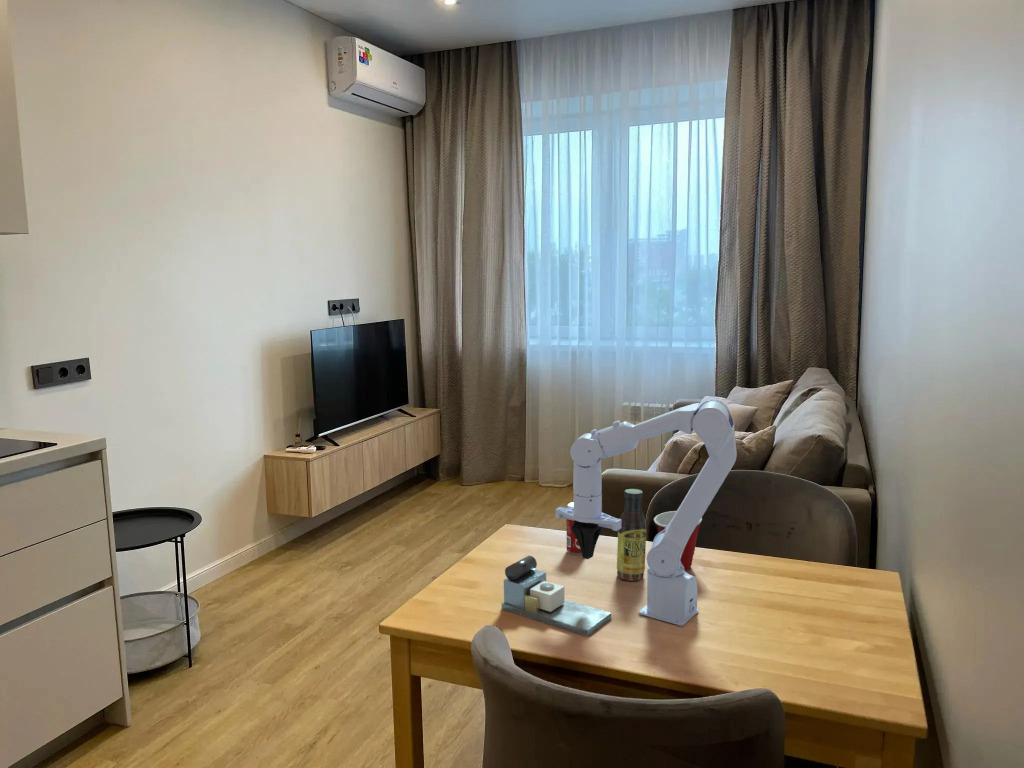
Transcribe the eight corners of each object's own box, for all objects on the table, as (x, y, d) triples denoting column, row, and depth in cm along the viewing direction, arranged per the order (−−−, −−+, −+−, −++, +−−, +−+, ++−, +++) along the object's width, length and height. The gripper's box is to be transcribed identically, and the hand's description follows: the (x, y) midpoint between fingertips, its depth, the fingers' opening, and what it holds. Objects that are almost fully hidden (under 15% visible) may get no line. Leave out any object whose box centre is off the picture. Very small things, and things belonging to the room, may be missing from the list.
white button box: (564, 602, 152) (564, 584, 152) (550, 611, 148) (550, 593, 148) (544, 596, 155) (543, 578, 155) (530, 605, 151) (529, 587, 151)
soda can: (587, 548, 186) (587, 501, 184) (588, 556, 181) (587, 508, 179) (566, 547, 187) (566, 501, 185) (566, 555, 182) (565, 507, 180)
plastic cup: (647, 559, 178) (648, 510, 176) (691, 556, 179) (692, 508, 178) (661, 577, 168) (661, 526, 166) (708, 574, 169) (709, 523, 167)
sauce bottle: (623, 584, 164) (623, 496, 162) (612, 573, 170) (612, 488, 168) (650, 580, 166) (651, 493, 163) (638, 569, 172) (639, 485, 169)
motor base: (611, 618, 148) (611, 574, 147) (587, 636, 141) (587, 590, 140) (527, 593, 161) (526, 552, 159) (501, 608, 153) (500, 566, 152)
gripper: (628, 494, 151) (628, 558, 153) (568, 483, 160) (568, 544, 162) (611, 503, 145) (611, 569, 147) (549, 491, 154) (550, 554, 156)
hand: (587, 557), depth 154 cm, fingers closed
